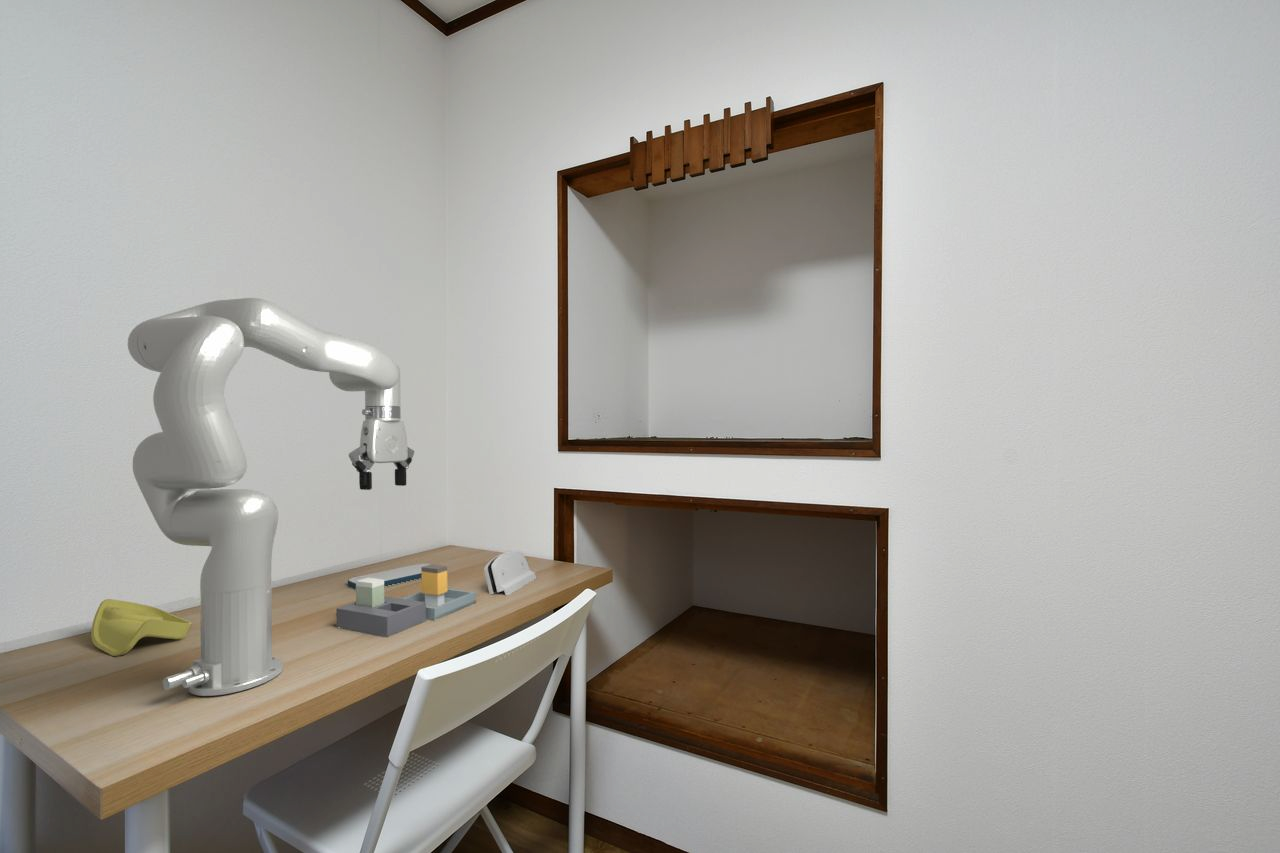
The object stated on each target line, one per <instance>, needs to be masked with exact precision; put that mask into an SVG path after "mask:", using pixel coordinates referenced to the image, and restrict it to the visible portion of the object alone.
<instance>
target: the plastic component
mask: <svg viewBox="0 0 1280 853" xmlns="http://www.w3.org/2000/svg"><path fill="white" fill-rule="evenodd" d="M191 626H193V622H192V621H189V620H186V619H184V618H181V617H179V616H177V615H174V614H172V613H170V612H168V611H166V610H162V609H160V608H159V607H154V606H151V605H147V604H142V603H138V602H137V603H136V602H131V601H126V600H119V599H118V600H117V599H112V598H107V599H103V600H102V601H101V602H100V603H99V606H98V608H97V610H96V612H95V614H94V618H93V621H92V625H91V631H90V632H91V633H90V634H91V636H90V637H91V641H92V643H93V645H94V646H95V647H97V648H98V649H100V650H102V651H104V653H107V654H109V655H110V656H113V657H121V655H122V656H124V655H125V654H127V653H128V652H130V651H131V650H132V649H133V648H134V647H135V645H136V644H137V643H138V642H139V640H141V639H142V638H149V637H151V638H159V639H160V638H161V639H170V640H183V639H185V637H186V636H187V635H188V633H189V630H190V628H191Z"/></svg>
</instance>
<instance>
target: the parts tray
mask: <svg viewBox="0 0 1280 853" xmlns="http://www.w3.org/2000/svg"><path fill="white" fill-rule="evenodd" d="M476 593H477V592H475V591H468V590H462V589H461V590H459V589H452V588H448V587H447V592H445V593H444V604H442V605H439V606H437V607H431V606H426V620H430V619H433V620H432V621H436V620H435V619H437V620H438V618H439V619H441V618H443V616H444V617H446V616H448V615H451V614H453V613H454V612H457V610H458V611H460V610H462V609H465V608H467V607H470V606H471V605H474V604H475V603H477V598H476V597H477V594H476ZM401 599H407V600H413V601H420V602H425V593H422V590H420V591H419V592H415V593H414V594H411V595H407V596H405V597H401ZM464 607H465V608H464ZM450 613H451V614H450ZM445 615H446V616H445ZM440 617H441V618H440Z"/></svg>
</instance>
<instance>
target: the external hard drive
mask: <svg viewBox="0 0 1280 853" xmlns="http://www.w3.org/2000/svg"><path fill="white" fill-rule="evenodd" d="M431 564H432V563H426V562H425V563H416V564H410V565H408V566H407V565H406V566H401V567H397V568H392V569H387V570H383V571H382V570H381V571H378V572H377V571H376V572H373V573H368V574H362V575H358V576H353V577H351V578H349V579H348V580H347V586H348V587H349V588H351V587H352V589H354V590H356V581H358V580H361V579H365V578H375V579H382V580H384V586H387V587H389V586H388V585H391V586H393V585H392V584H396V585H398V584H397V583H400V584H402V583H401V582H405V583H407V582H406V581H409V582H411V581H410V580H413V581H415V580H414V579H418V580H420V579H419V578H422V571H421V567H424V566H427V565H431Z"/></svg>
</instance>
